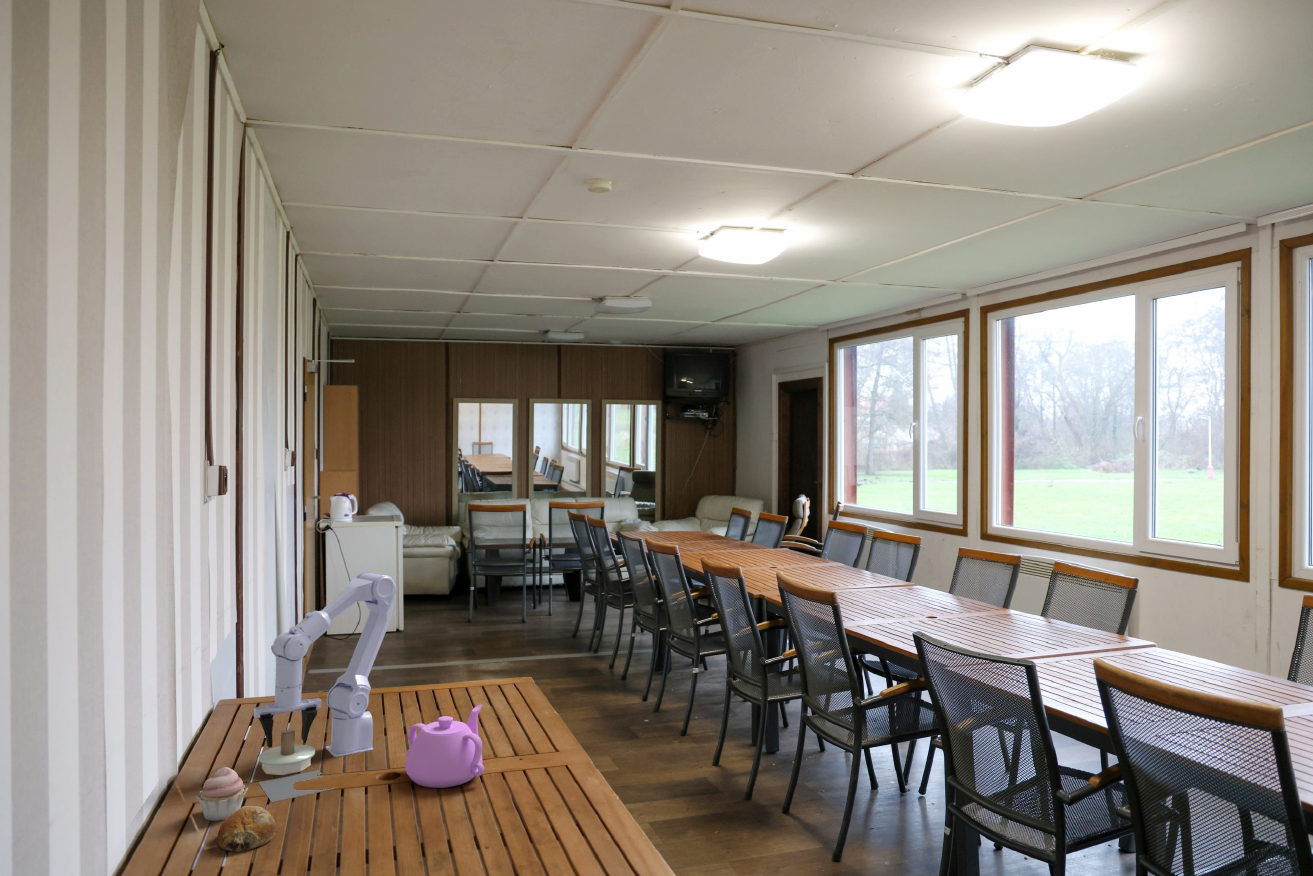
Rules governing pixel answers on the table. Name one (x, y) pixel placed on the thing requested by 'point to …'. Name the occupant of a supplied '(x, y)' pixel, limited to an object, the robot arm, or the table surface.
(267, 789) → the mat
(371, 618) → the robot arm
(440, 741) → the teapot
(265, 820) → the bread roll
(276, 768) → the bowl
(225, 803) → the cupcake
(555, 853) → the table surface
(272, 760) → the lid
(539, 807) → the table surface
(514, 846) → the table surface
